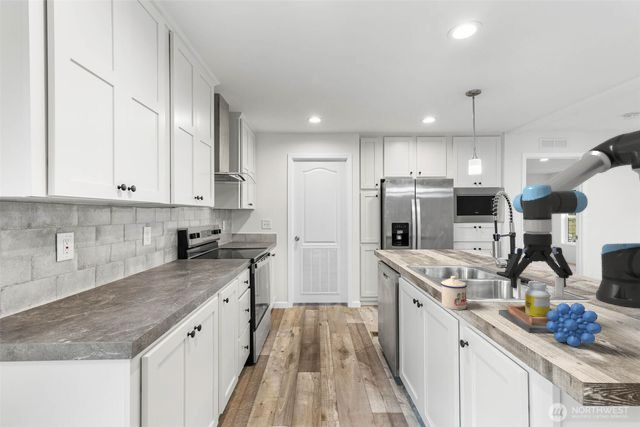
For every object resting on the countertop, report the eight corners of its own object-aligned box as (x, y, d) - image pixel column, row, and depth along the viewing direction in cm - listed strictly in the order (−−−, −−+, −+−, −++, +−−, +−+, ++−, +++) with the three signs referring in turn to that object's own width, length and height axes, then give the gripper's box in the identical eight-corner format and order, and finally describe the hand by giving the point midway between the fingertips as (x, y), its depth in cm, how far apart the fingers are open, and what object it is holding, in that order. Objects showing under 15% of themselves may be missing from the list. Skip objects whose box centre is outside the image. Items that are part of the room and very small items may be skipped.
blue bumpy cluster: (605, 349, 76) (605, 304, 76) (599, 357, 72) (599, 309, 72) (551, 334, 86) (551, 294, 86) (543, 340, 82) (543, 298, 82)
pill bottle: (527, 313, 99) (527, 279, 99) (551, 317, 95) (551, 282, 95) (523, 318, 95) (523, 282, 95) (548, 323, 90) (547, 286, 90)
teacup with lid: (457, 312, 106) (457, 280, 105) (436, 305, 113) (435, 275, 113) (476, 306, 112) (476, 276, 112) (455, 300, 120) (454, 271, 119)
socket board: (544, 313, 103) (544, 303, 102) (584, 333, 87) (584, 320, 87) (498, 313, 103) (498, 303, 103) (529, 333, 87) (529, 320, 87)
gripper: (567, 231, 98) (568, 293, 98) (491, 232, 99) (492, 294, 99) (586, 232, 90) (587, 300, 91) (504, 234, 91) (506, 301, 92)
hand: (538, 297), depth 95 cm, fingers open, 13 cm apart
